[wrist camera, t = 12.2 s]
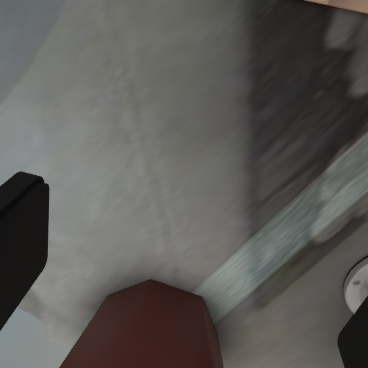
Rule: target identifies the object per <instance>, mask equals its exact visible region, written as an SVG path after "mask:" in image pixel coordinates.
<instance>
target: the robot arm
mask: <svg viewBox="0 0 368 368" xmlns="http://www.w3.org/2000/svg"><path fill="white" fill-rule="evenodd" d="M48 221H49V185H48V184H46V183H44V180H43V178H42V177H41V176H37V175H33V174H29V173H25V172H18V173H16V174H15V175H14V176H12V177H11V178H10V179H9V180H7V181H6V182H5V183H4V184H2V185H1V186H0V330H1V329H2V328H3V326H4V325H5V323H6V322H7V321H8V319H9V318H10V316H11V315H12V313H13V312H14V311H15V309H16V308H17V306H18V305H19V303H20V302H21V301H22V299H23V298H24V296H25V295H26V293H27V292H28V291H29V289H30V288H31V286H32V285H33V283H34V282H35V280H36V279H37V278H38V276H39V275H40V273H41V272H42V270H43V269H44V267H45V265H46V262H47V257H48ZM343 293H344V298H345V300H346V303H347V305H348V307H349V308H350V310H351V311H352V312H353V313H354V314H353V316H352V317H351V319H350V320H349V321H348V323H347V324H346V325H345V327H344V328H343V329H342V331H341V332H340V334H339V336H338V348H339V351H340V354H341V358H342V361H343V364H344V367H345V368H368V258H366V259H364V260H363V261H362V262H360V263H359V264H357V265H356V266H355V267H354V268H353V269H352V270H351V272H350V273H349V275H348V276H347V278H346V280H345V283H344V288H343Z"/></svg>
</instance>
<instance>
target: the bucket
mask: <svg viewBox="0 0 368 368" xmlns="http://www.w3.org/2000/svg"><path fill="white" fill-rule="evenodd" d="M59 368H223V363H222V357H221V352H220V347H219V342H218V336H217V331H216V329H215V327H214V324H213V322H212V319H211V317H210V315H209V312H208V310H207V307H206V305H205V303H204V300H203V298H202V297H201V296H198V295H196V294H193V293H190V292H187V291H184V290H181V289H178V288H175V287H172V286H169V285H166V284H164V283H161V282H158V281H155V280H152V279H150V280H147V281H145V282H142V283H139V284H137V285H134V286H131V287H129V288H126V289H123V290H121V291H118V292H115V293H113V294H110V295H108V296H107V298H106V299H105V301H104V302H103V303H102V305H101V306H100V308H99V309H98V311H97V312H96V314H95V315H94V317H93V318H92V320H91V321H90V323H89V324H88V326H87V327H86V329H85V330H84V332H83V333H82V335H81V336H80V338H79V339H78V341H77V342H76V344H75V345H74V347H73V348H72V349H71V351H70V352H69V354H68V355H67V357H66V358H65V360H64V361H63V363H62V364H61V366H60V367H59Z"/></svg>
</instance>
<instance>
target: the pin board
mask: <svg viewBox="0 0 368 368" xmlns="http://www.w3.org/2000/svg"><path fill="white" fill-rule="evenodd" d="M303 1H308V2H313V3H317V4H322V5H327V6H332V7H336V8H341V9H346V10H350V11H355V12H360V13H364V14H368V0H303Z"/></svg>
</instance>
